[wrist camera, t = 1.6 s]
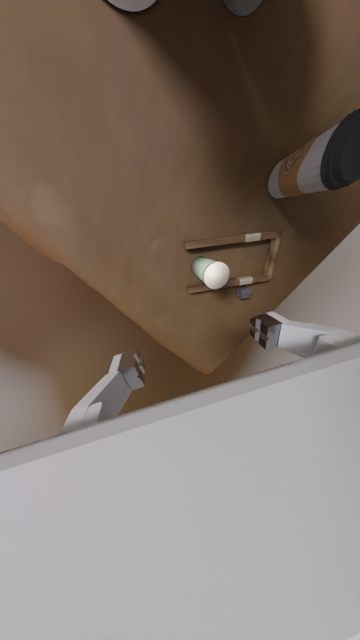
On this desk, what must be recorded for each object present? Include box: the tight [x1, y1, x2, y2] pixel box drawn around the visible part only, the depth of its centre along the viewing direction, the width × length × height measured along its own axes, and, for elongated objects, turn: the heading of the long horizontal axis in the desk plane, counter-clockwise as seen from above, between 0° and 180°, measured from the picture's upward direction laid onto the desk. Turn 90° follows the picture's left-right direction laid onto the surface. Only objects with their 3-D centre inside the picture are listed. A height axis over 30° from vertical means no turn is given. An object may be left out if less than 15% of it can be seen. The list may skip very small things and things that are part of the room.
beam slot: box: [184, 231, 282, 299], centre depth 39 cm, size 16×25×3 cm, turn 96°
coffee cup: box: [268, 109, 360, 198], centre depth 26 cm, size 8×8×15 cm
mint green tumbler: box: [191, 256, 229, 289], centre depth 34 cm, size 5×5×11 cm
